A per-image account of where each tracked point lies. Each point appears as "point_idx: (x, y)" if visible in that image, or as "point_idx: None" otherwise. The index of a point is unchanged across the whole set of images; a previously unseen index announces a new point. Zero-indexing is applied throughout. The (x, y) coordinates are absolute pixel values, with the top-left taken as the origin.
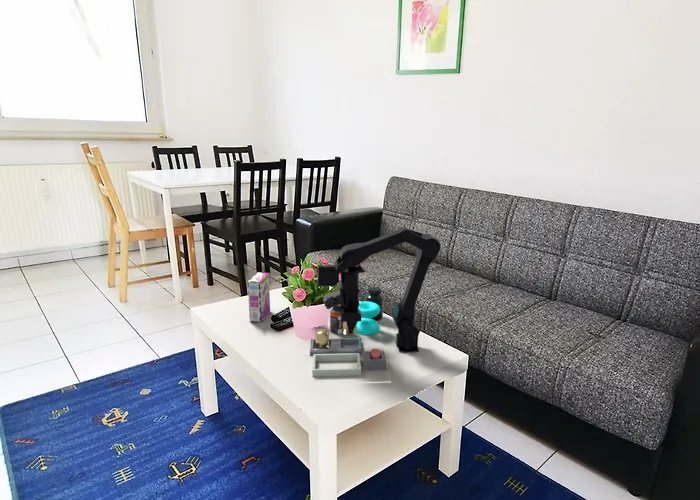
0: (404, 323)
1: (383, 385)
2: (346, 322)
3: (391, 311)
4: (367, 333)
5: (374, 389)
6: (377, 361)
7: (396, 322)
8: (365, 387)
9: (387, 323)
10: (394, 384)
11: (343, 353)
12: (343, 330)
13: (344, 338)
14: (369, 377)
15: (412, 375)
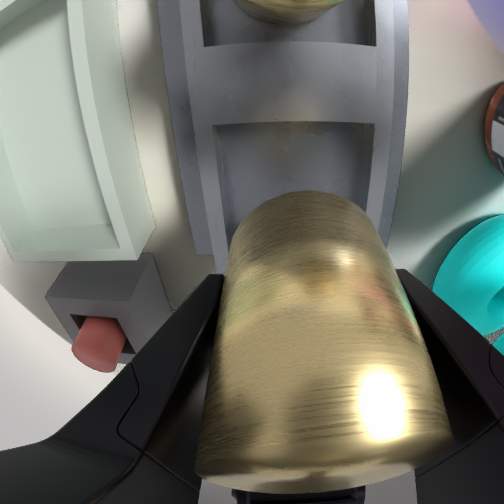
0: (236, 499)
1: (37, 297)
2: (80, 411)
3: (355, 502)
4: (436, 288)
5: (9, 271)
6: (68, 331)
7: (248, 495)
8: (4, 247)
9: (490, 334)
10: (56, 323)
11: (108, 160)
12: (290, 213)
13: (386, 158)
14: (53, 263)
15: (120, 367)
